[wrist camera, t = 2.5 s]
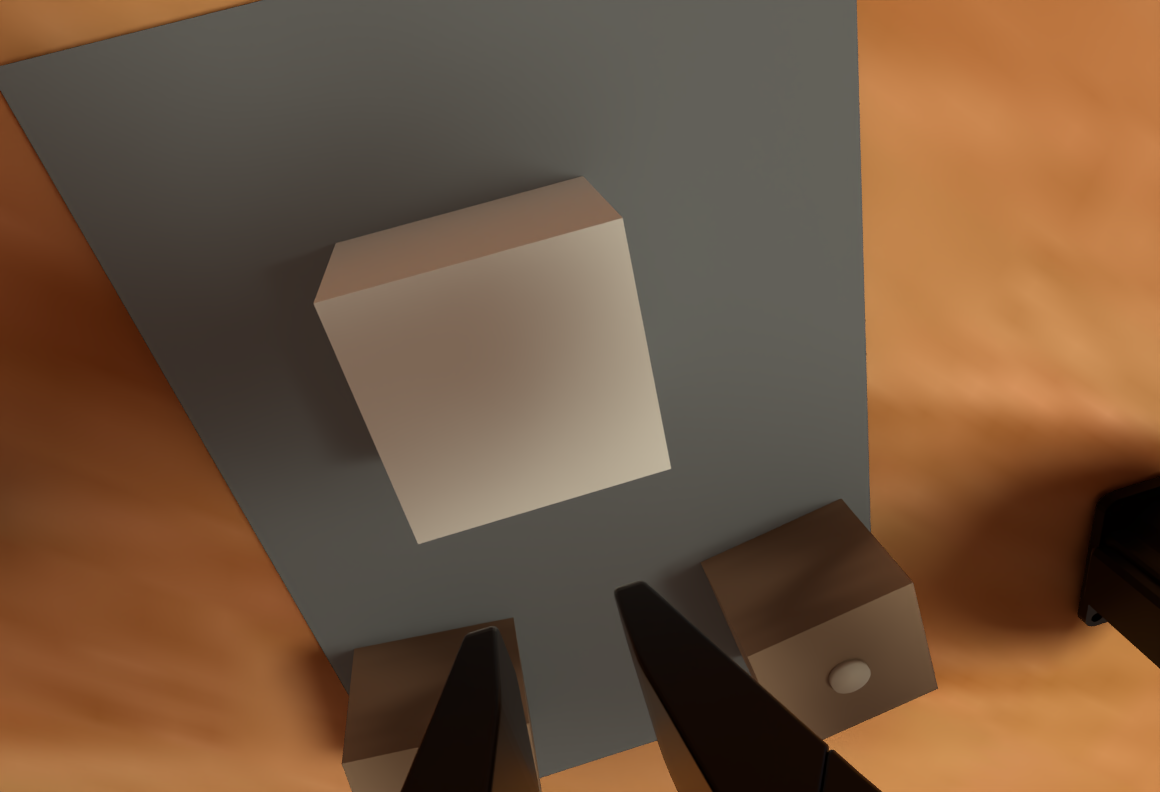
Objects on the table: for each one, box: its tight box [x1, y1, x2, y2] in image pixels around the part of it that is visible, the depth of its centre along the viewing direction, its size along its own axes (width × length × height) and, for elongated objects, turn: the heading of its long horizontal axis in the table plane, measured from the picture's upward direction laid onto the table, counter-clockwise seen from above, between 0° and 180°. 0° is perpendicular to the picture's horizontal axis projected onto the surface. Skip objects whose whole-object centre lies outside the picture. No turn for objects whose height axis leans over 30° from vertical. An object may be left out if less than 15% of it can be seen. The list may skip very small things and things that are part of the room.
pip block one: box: [700, 499, 938, 740], centre depth 23 cm, size 5×5×4 cm
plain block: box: [313, 176, 671, 544], centre depth 17 cm, size 6×6×4 cm
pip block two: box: [342, 618, 542, 792], centre depth 23 cm, size 5×5×4 cm
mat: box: [0, 0, 871, 778], centre depth 21 cm, size 18×26×1 cm
